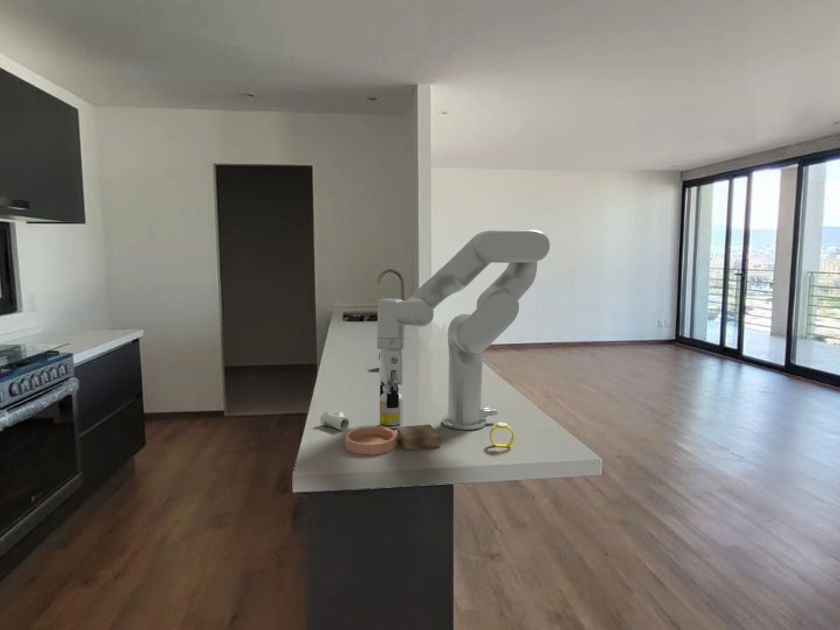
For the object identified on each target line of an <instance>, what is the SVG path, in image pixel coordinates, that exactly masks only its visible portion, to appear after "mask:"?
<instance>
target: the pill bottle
mask: <svg viewBox="0 0 840 630" xmlns="http://www.w3.org/2000/svg"><path fill="white" fill-rule="evenodd" d="M398 388H399V389H400V385H399V384H398ZM390 389H391V386H390ZM383 391H384V393H383V394H382V395H381V396H380V395H379V426H380V427H385V428H388V429H391V430H393V429H397V427H403V411H404V409H403V406H404V405H403V399H404V398H403V396H402V394H401V393H400V392H399V403H398V408H387V394H388V388H387V385H383Z"/></svg>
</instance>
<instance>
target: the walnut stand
mask: <svg viewBox="0 0 840 630" xmlns="http://www.w3.org/2000/svg"><path fill="white" fill-rule="evenodd" d="M396 434H397V441H398V442H399V443H400V445H401V446H402V448H403V450H404V451H405V452H406V451H415V450H423V449H424V450H427V449H435V448H437V449H438V448H440V447H441V435H440V434H439V433H438V432H437V430H435V429H434V427H433V426H432V425H431V424H430V423H429V424H420V425H419V424H415V425H407V426H406V425H405V426H400V427H397V428H396Z"/></svg>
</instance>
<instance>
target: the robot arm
mask: <svg viewBox="0 0 840 630" xmlns="http://www.w3.org/2000/svg"><path fill="white" fill-rule="evenodd" d="M550 247H551V243H550V240H549V237H548V235H546V234H545V233H544V232H542V231H540V230H536V229H523V230H520V229H519V230H487V231H481V232H479V233H477V234H475V235H474V236H473V237H472V238H471V239H470V240H469V241H468V242H467V243H466V244H465V245H464V246H463V247H462V248H461V249H460V250H459V251H458V252H457V253H456V254H455V255H453V257H452V258H450V259H449V260H448V261H447V263H445V264H444V265H443V266H442V267H441V268H440V269H439V270H438V271H436V273H435V274H433V275H432V277H430V278H429V279H428V280H426V282H424V283H423V284H422V285H421V286H420V287H419V288H418V289H417V290H416V291H415V292H413V294H412V295H411V296H410V297H409V298H408V299H406V300H403V299H400V298H380V299H379V301H378V302H377V303H378V304H377V330H376V333H377V335H376V349H378V350H379V353H380V361H379V365H378V367H379V368H378V369H379V370H378V371H379V378H380V380H379V381H380V382H379V383H380V384H379V397H380V396H381V395H382V394H383V393H384V391H383V385H387V388H388V394H387V408H398V403H399V393H400V387H399V388H398V385H399V386H402V384H403V353H402V350H403V349H404V348H405V326H411V327H417V328H420V327H422V328H423V327H426V326H428V325H429V324H430V323H431V322H432V321H433V319H434V316H435V312H434V309H436V307H438V305H440V304H441V303H442V302H444V300H446V299H447V298H449V297H450V296H451V295H453V294H456V293H458V292H461V291H462V290H464V289H465V288H467V287H468V286H469V285H470V284H471V283H472V281H474V280H475V278H477V277H478V276H479V275H480V274H481V273H482V272H483V271H484V270H485V269H486V268H487V267H488V266H489V265H490V264H491V263H495V264H496V263H501V264H505V263H506V264H507V263H508V265H507V267H506V268H505V270H504V271H503V272H502V273H501V274H500V275H499V276H498V277H497V279H496V280H494V282H492V283H491V284H490V285H489V286H488V287H487V288H486V289H485V290H483V292H482V293H480V295H479V297H478V298H477V300H476V309H475V310H474V311H473V312H472V313H471V314H470V313H469V314H468V313H462V314H458V315H457V316H455V317H454V318H452V319H451V321H450V323H449V324H448V328H447V345H448V394H447V395H448V396H447V398H448V400H447V403H448V406H447V411H448V412H447V414H446V415H444V416H443V417H442V424H443V425H444V426H446V427H448V428H451V429H456V430H464V431H465V430H466V431H468V430H469V431H470V430H479V429H482V428H484V427H485V426H486V425H487V419H486V418H488V417H490V416H491V417H494V416H495V417H496V416H498V410H497V409H496V408H491V409H490V407H483V406H482V396H483V395H482V386H483V383H482V382H483V351H484V350H486V349H487V348H489V347H490V346H491V345H492V344H493V343H494V342H495V341H496V340H497V339H498V338H499V337H500V336H501V335H502V334H503V333H504V332H506V330H507V329H508V328H509V327H510V326H511V325H512V324H513V323H514V321H515V320H516V318H517V316H518V314H519V312H520V301H519V300H520V299H521V298H522V297H523V296H524V294H525V293H527V291H528V290H529V289H530V287H531V286H532V285H533V283H534V282H535V279H536V277H537V271H538V262H540V261H542V260H543V259H545V257H547V255H548V254H549V252H550ZM390 386H391V389H390Z"/></svg>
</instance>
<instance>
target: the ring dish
mask: <svg viewBox="0 0 840 630" xmlns="http://www.w3.org/2000/svg"><path fill="white" fill-rule="evenodd" d="M344 445H345V446H344V447H345V449H346V450H347V451H349V452H351V453H353V454H355V455H356V454H357V455H364V454H366V456H373V455H382V454H385V453H388V452H391V451H393V450H395V449H396V447H397V446H398V439H397V431H395V430H393V429H388V428H385V427H381V426H363V427H358V428H354V429H351V430H349V431H348V432H346V433H345V434H344Z"/></svg>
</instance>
